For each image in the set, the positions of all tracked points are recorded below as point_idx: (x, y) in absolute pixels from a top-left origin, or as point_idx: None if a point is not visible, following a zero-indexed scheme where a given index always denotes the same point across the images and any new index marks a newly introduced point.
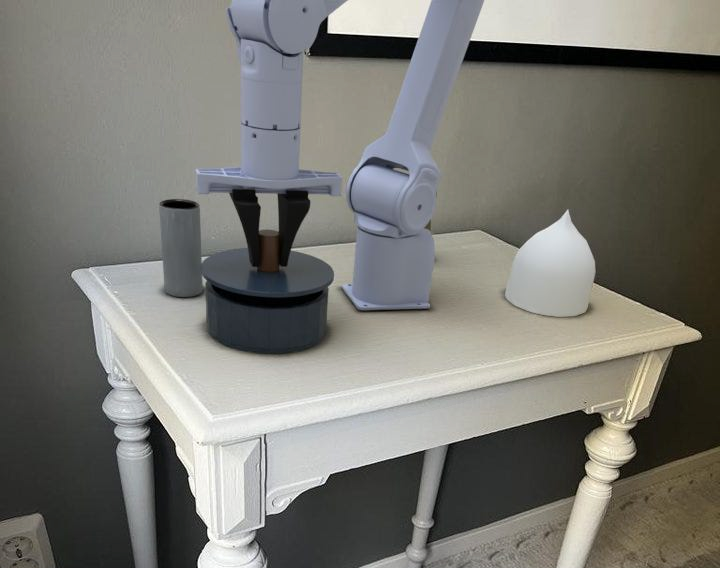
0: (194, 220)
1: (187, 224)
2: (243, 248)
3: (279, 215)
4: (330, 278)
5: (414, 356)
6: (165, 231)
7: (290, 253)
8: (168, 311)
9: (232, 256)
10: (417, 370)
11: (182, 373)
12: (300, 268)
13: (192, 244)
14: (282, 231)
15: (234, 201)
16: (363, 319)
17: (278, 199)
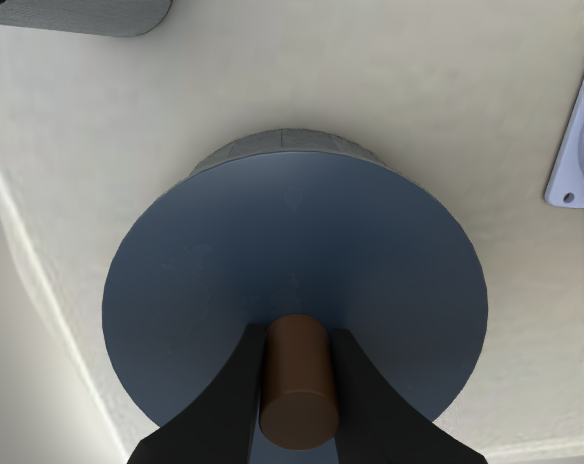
0: (47, 4)
1: (20, 23)
2: (265, 159)
3: (361, 428)
4: (435, 414)
5: (515, 397)
6: None
7: (414, 226)
8: (76, 126)
9: (209, 236)
10: (487, 435)
11: (106, 392)
12: (388, 349)
13: (83, 22)
14: (345, 440)
15: None
16: (524, 241)
17: (378, 461)
